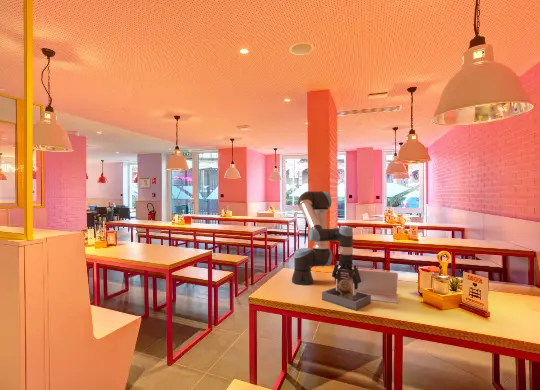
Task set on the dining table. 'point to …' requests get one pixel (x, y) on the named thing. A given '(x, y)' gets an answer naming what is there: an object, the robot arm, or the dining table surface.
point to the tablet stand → (379, 285)
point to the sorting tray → (355, 304)
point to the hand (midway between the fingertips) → (345, 292)
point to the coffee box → (345, 283)
